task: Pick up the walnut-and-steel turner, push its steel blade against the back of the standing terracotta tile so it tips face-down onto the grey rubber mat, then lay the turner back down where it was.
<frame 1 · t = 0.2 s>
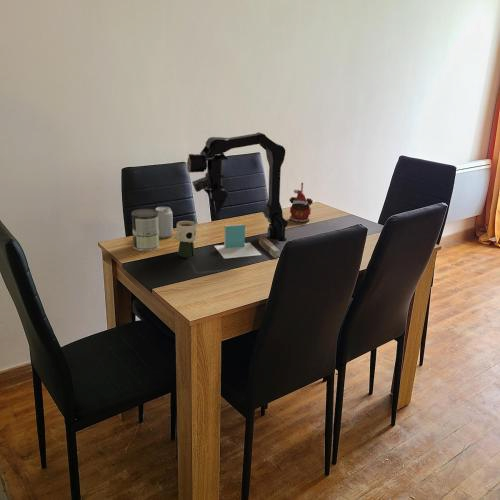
hand: (214, 210, 200), 14 cm above the table, tool pointing down, fingers open, 9 cm apart
character mug: (186, 256, 192), on the table
coffee can: (146, 247, 200), on the table
tile: (234, 246, 201), point 1 cm above the table, touching mat
can: (163, 236, 213), on the table
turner: (268, 252, 199), on the table
red and brown figurine: (299, 220, 240), on the table
mat: (237, 252, 198), on the table
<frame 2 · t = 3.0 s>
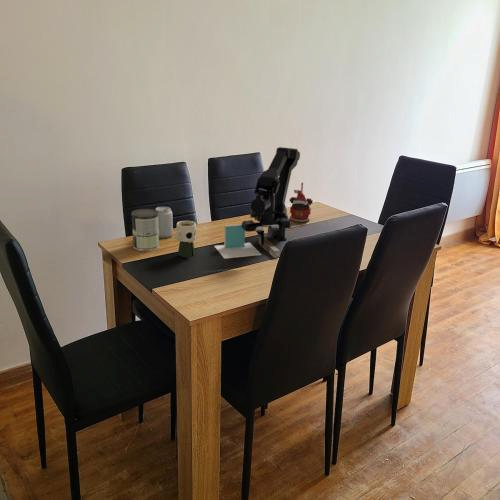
hand: (265, 244, 202), 2 cm above the table, tool pointing down, fingers closed on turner, 2 cm apart
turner: (268, 252, 199), on the table, touching gripper
everything else where it was.
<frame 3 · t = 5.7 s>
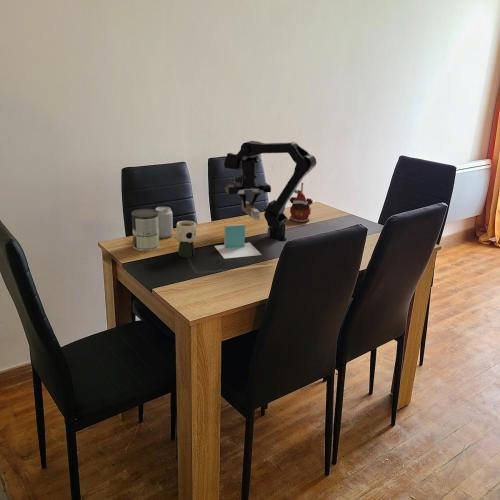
hand: (247, 208, 216), 11 cm above the table, tool pointing down, fingers closed on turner, 2 cm apart
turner: (250, 214, 213), point 10 cm above the table, touching gripper
everything else where it was.
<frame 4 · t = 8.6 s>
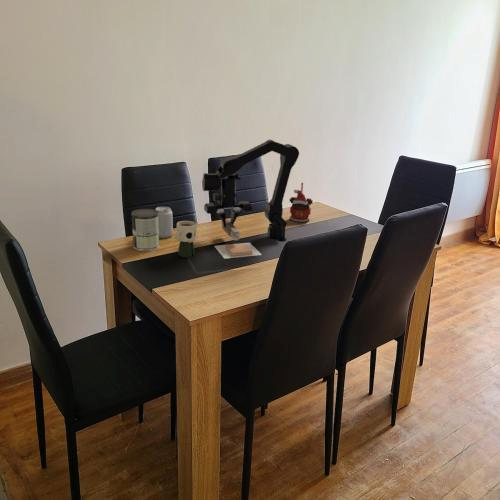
hand: (227, 227, 207), 6 cm above the table, tool pointing down, fingers closed on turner, 2 cm apart
tile: (235, 245, 200), point 2 cm above the table, tilted 90°, touching mat
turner: (230, 233, 204), point 4 cm above the table, touching gripper
everything else where it was.
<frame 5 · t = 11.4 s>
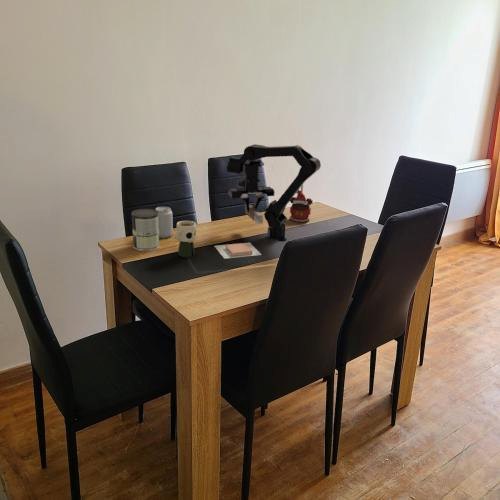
hand: (250, 212, 215), 10 cm above the table, tool pointing down, fingers closed on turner, 2 cm apart
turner: (253, 218, 212), point 8 cm above the table, touching gripper
everything else where it was.
when the fingers open (3 cm above the table, at t = 14.1 s): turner drops 1 cm, on the table.
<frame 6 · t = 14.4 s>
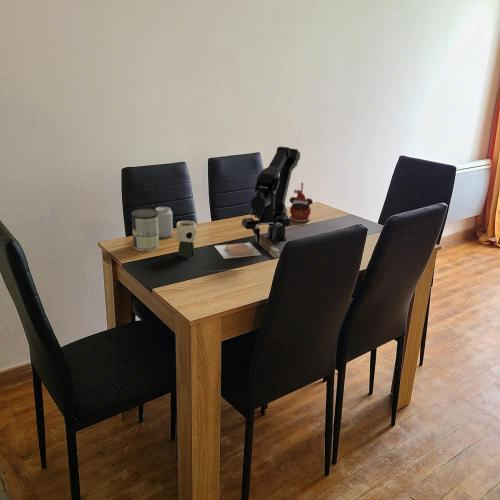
hand: (265, 242, 202), 3 cm above the table, tool pointing down, fingers open, 6 cm apart
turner: (268, 251, 199), on the table
everything else where it was.
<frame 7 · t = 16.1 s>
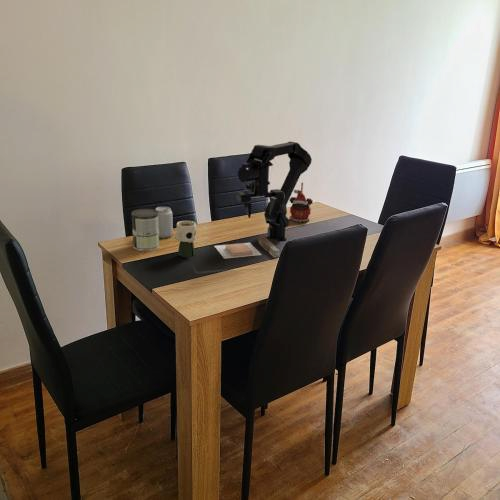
hand: (259, 216, 202), 12 cm above the table, tool pointing down, fingers open, 9 cm apart
nothing on the table moved.
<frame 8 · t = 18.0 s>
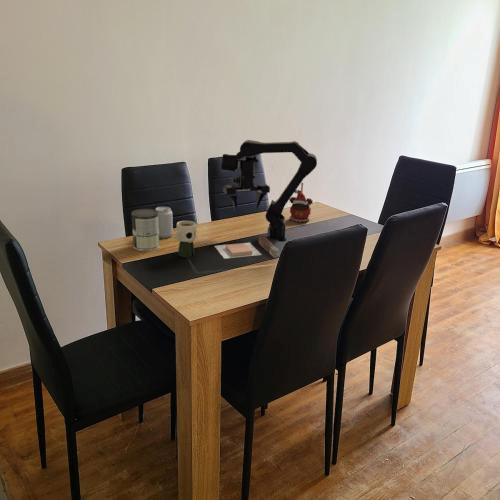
hand: (245, 209, 211), 12 cm above the table, tool pointing down, fingers open, 9 cm apart
nothing on the table moved.
at the end: tile tilted 90°; tile inside the target area (1.6 cm from its centre), point 1.5 cm above the table; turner inside the target area (0.2 cm from its centre), on the table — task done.
